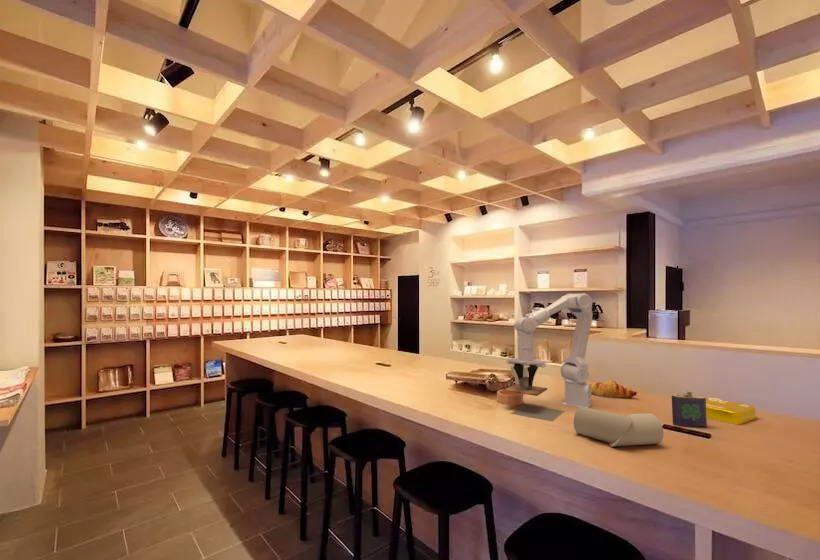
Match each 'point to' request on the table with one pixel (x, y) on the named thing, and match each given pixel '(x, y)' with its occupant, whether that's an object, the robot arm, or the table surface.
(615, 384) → the croissant
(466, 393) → the table surface
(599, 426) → the bent grey cylinder
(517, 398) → the bowl
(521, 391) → the lid
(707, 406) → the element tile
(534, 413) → the mat
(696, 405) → the flask
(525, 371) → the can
